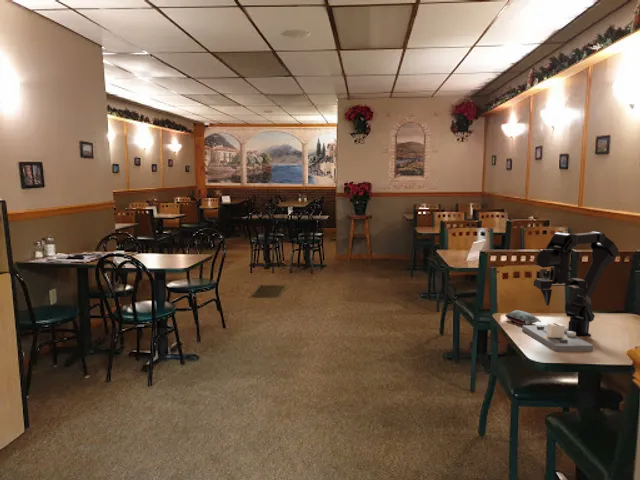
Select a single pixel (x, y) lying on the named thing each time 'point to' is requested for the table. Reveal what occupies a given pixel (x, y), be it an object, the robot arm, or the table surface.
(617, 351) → the table surface
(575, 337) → the console
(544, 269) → the robot arm
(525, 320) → the packaged food
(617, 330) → the table surface
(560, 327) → the block
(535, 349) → the table surface
